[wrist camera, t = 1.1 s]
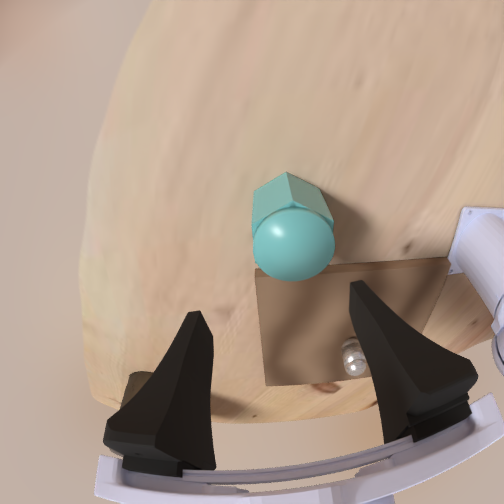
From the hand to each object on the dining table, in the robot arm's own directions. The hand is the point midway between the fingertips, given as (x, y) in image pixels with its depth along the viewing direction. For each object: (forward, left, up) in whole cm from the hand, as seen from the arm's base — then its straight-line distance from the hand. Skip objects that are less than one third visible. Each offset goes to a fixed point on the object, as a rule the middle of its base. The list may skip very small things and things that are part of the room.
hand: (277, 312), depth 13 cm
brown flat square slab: (-8, +16, -11) cm, 21 cm away
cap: (-1, 0, -11) cm, 11 cm away
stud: (-8, +16, -10) cm, 20 cm away
